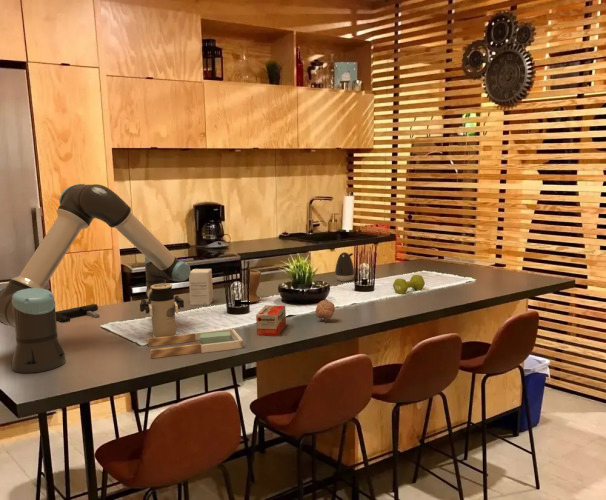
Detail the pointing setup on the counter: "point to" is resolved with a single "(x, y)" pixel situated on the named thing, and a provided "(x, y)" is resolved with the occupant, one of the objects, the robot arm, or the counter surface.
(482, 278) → the counter surface
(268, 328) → the medicine box
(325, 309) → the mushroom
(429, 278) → the counter surface
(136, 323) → the counter surface
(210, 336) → the chip
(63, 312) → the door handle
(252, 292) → the brown boot
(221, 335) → the chip
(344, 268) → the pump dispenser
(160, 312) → the travel mug
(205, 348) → the tray
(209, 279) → the supplement box
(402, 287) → the dumbbell
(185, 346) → the slot rails
